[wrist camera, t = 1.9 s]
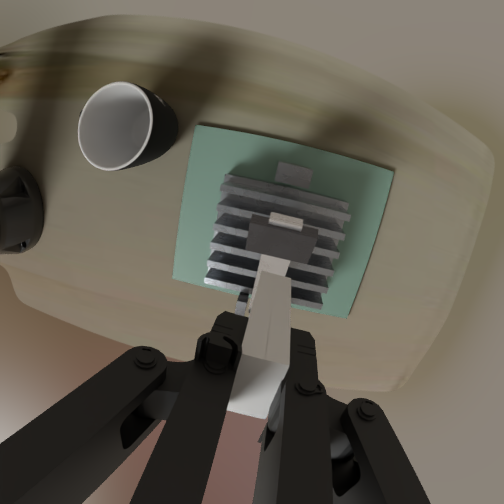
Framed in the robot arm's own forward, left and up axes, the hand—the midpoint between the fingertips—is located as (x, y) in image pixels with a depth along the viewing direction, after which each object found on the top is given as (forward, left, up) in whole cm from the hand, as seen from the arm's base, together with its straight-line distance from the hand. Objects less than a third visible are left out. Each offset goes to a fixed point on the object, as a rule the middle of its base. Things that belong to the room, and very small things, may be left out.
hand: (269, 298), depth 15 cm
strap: (0, -3, -12) cm, 12 cm away
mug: (-19, +8, -22) cm, 30 cm away
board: (0, -1, -22) cm, 22 cm away
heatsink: (0, -2, -21) cm, 21 cm away
